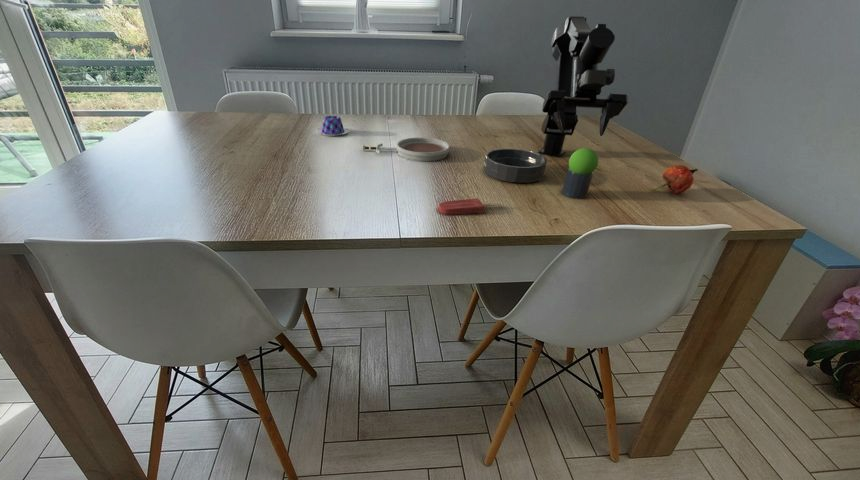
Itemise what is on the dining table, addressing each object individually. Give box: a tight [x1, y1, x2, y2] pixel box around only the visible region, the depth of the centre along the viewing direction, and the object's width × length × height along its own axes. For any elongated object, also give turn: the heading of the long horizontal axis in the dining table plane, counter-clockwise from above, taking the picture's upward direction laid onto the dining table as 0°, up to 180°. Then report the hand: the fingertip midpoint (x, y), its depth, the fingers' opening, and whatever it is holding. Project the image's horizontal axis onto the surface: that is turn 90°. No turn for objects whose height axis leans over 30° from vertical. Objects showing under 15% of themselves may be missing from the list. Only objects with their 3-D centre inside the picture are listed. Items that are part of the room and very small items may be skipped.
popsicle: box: [437, 198, 502, 216], centre depth 93 cm, size 4×2×15 cm
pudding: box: [315, 115, 351, 137], centre depth 144 cm, size 12×12×5 cm
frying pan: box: [360, 136, 451, 162], centre depth 127 cm, size 17×3×28 cm
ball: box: [568, 147, 599, 174], centre depth 97 cm, size 6×6×6 cm
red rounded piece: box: [652, 164, 698, 195], centre depth 102 cm, size 7×7×10 cm
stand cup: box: [561, 167, 595, 200], centre depth 100 cm, size 6×6×6 cm
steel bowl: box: [482, 148, 548, 184], centre depth 112 cm, size 16×16×4 cm
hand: (582, 133), depth 100 cm, fingers open, 9 cm apart
